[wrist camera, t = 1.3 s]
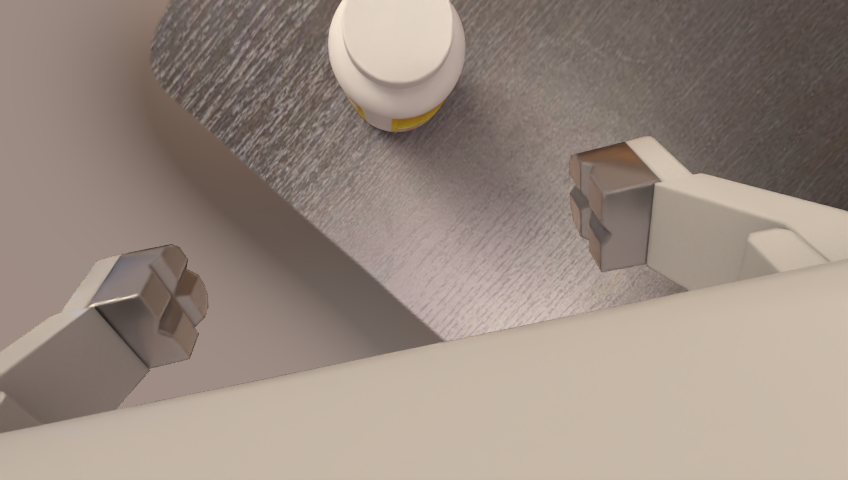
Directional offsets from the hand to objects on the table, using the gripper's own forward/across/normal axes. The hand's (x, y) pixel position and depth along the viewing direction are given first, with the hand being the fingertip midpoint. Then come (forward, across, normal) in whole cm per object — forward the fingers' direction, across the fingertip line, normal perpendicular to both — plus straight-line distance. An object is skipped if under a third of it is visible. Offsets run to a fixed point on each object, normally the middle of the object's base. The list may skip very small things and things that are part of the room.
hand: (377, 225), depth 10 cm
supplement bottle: (+24, 0, +6) cm, 25 cm away
